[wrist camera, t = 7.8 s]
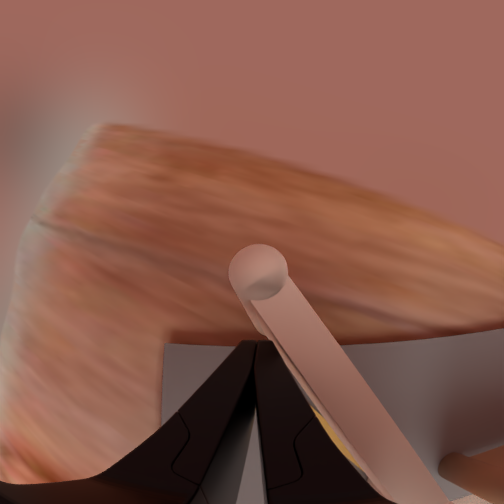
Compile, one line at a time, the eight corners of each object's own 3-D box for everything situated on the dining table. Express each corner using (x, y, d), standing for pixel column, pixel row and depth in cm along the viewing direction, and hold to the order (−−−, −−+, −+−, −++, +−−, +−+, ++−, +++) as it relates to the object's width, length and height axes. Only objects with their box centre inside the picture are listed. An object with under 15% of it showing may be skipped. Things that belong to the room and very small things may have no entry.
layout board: (531, 321, 15) (611, 287, 8) (528, 465, 11) (605, 478, 4) (169, 341, 17) (94, 313, 10) (167, 509, 13) (102, 569, 6)
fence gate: (409, 480, 12) (485, 533, 5) (378, 503, 12) (436, 573, 4) (277, 296, 16) (271, 229, 9) (243, 318, 16) (211, 268, 9)
